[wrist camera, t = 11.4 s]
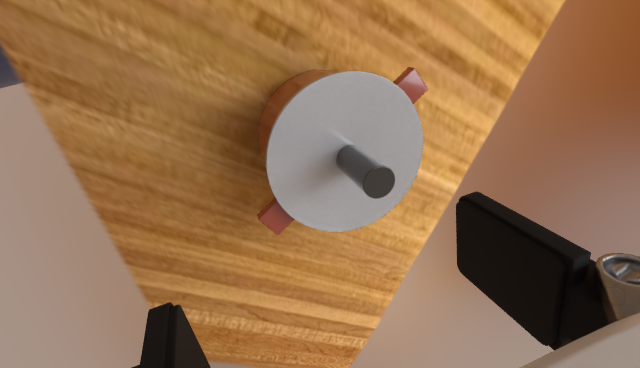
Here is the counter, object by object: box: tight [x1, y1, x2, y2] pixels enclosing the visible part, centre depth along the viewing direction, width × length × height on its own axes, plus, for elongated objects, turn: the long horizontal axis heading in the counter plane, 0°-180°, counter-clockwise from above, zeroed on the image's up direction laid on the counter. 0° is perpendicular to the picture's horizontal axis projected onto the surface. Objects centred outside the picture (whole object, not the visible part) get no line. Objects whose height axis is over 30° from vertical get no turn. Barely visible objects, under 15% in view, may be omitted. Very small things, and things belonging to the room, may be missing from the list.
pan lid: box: [265, 71, 423, 232], centre depth 27 cm, size 14×14×7 cm
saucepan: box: [257, 67, 428, 235], centre depth 32 cm, size 13×18×7 cm
